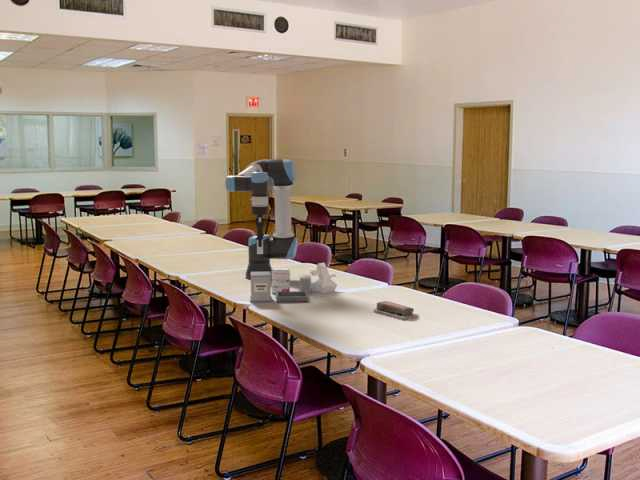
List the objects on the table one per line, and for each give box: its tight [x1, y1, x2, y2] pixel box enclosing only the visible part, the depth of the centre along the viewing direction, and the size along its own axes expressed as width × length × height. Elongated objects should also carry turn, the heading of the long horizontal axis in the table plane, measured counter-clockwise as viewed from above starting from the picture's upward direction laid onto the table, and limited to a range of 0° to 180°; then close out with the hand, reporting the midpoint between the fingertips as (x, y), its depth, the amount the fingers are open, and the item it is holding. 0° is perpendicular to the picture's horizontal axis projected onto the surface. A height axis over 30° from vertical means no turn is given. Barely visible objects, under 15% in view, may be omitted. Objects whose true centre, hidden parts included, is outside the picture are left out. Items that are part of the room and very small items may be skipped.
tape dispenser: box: [310, 262, 338, 294], centre depth 327 cm, size 8×14×14 cm, turn 125°
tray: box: [275, 290, 309, 303], centre depth 309 cm, size 12×15×2 cm
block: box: [299, 274, 312, 294], centre depth 324 cm, size 5×5×8 cm
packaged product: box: [373, 300, 420, 321], centre depth 282 cm, size 18×5×10 cm
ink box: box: [271, 267, 291, 294], centre depth 323 cm, size 9×5×12 cm, turn 84°
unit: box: [249, 272, 273, 303], centre depth 307 cm, size 10×10×13 cm
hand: (259, 252), depth 303 cm, fingers open, 13 cm apart
